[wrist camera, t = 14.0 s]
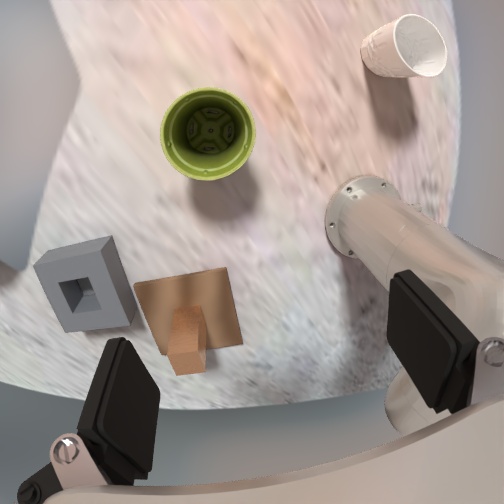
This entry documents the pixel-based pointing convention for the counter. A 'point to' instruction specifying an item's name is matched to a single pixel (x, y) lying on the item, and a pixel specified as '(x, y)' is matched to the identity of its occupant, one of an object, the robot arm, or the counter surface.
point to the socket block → (101, 278)
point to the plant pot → (207, 133)
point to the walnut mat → (191, 294)
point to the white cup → (405, 49)
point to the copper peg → (188, 341)
